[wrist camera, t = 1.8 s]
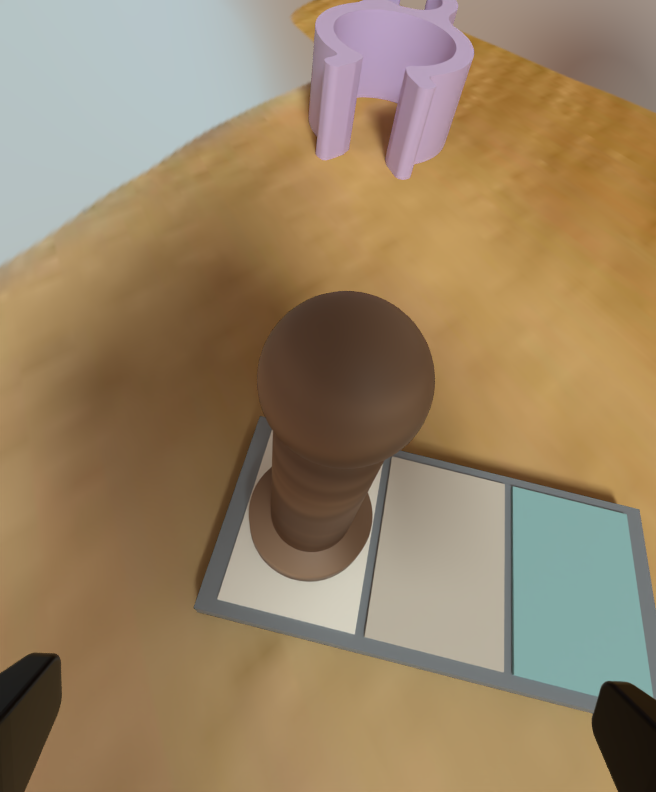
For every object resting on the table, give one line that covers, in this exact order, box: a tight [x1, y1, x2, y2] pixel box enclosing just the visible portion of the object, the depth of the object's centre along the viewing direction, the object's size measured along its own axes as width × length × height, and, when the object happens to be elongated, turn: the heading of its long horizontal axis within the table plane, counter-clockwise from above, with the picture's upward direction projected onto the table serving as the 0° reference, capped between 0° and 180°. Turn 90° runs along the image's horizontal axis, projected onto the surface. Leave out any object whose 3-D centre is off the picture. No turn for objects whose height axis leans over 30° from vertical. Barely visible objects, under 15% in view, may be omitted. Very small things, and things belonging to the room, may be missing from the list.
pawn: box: [249, 291, 435, 582], centre depth 15 cm, size 5×5×13 cm
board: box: [194, 416, 656, 713], centre depth 21 cm, size 19×9×1 cm, turn 77°
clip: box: [309, 0, 474, 180], centre depth 40 cm, size 20×12×7 cm, turn 166°
